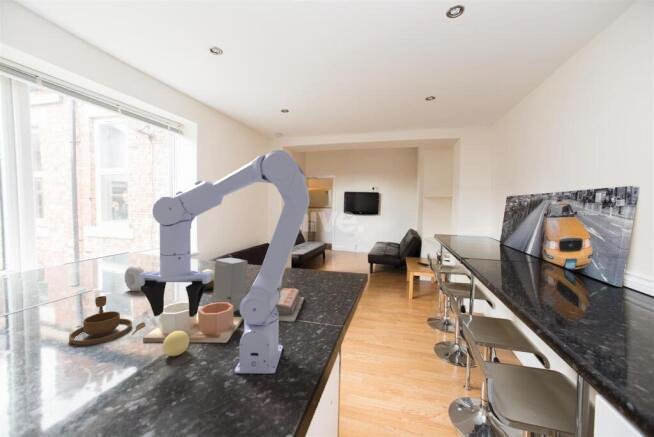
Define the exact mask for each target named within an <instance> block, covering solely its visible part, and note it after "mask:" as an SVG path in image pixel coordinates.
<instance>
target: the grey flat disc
mask: <svg viewBox="0 0 654 437" xmlns="http://www.w3.org/2000/svg"><path fill="white" fill-rule="evenodd" d="M143 272H145V271H144V269H143V268H142V267H141V266H139V265H137V264H134V265H131V266H129V267H127V269H126V270H125V273H124V283H125V285H126V287H127V289H129V290H130V291H132V292H139V291H141V289H140V287H141V286H143V285H144V284H145V283H139V274H141V273H143Z"/></svg>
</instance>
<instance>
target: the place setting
mask: <svg viewBox="0 0 654 437" xmlns="http://www.w3.org/2000/svg"><path fill="white" fill-rule="evenodd" d="M94 300H95V302H94V303H95V306H96V307H97V308H98V313H95V314H93V315H92V314H91V315H90V316H87V317H85V318H84V320H83V321H82V324H83V325H82V324H80V326H81V327H80V328H79V327H78V328H77V329H76V330H74V331H72V332H71V333H70V334H69V336H68V339H69V342H70V343H71V344H73V345H76V346H90V345H96V344H100V343H104V342H108V341H112V340H114V339H116V338H119V337H121V336H123V335H124V334H126V333H128V332H129V331H130V330H131V328H132V325H133V322H132V320H130V319H128V318H121V313H120V312H119V311H112V310H111V311H104V307H105V306H106V305H107V295H101V296H96V297H95V299H94ZM119 325H124V326H126V328H124V329H122V330H120V331H118V332H115V333H113V331H114V330H116V329H117V328H118V327H119ZM145 326H146V323H145V322H144V321H143V322H140V323H138V324H137V325H135V330H134V331H133V332H132V333H131V335H132V336H133V335H135V334H136V333H137V331H138V330H141V329H143V328H144V327H145ZM82 332H84V334H87V335H89V336H92V337H93V338H94V339H87V340H85V339H84V340H83V339H82V340H81V339H76V338H77V337H79V336H80V335H81V334H80V333H82ZM111 333H113V334H111ZM79 334H80V335H79ZM82 334H83V333H82ZM110 334H111V335H110ZM78 335H79V336H78ZM76 336H77V337H76ZM75 337H76V338H75ZM74 339H75V340H74Z"/></svg>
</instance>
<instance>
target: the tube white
mask: <svg viewBox="0 0 654 437" xmlns="http://www.w3.org/2000/svg"><path fill="white" fill-rule="evenodd" d="M158 316H159V322H158V323H159V326H158V327H159V329H160V330H161V332H162V333H164V334H171V333H172V332H175V331H186V330H189V329H191V328H192V327H193V326H194V325H195V324H196V323H197V318H196V316H197V314H196V315H195V316H193V317H190V316H189V301H178V302H174V303H169V304H166V305H164V310H163V313H162V314H160V315H158Z"/></svg>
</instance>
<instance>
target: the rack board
mask: <svg viewBox="0 0 654 437" xmlns="http://www.w3.org/2000/svg"><path fill="white" fill-rule="evenodd" d="M196 318H197V323H196V324H195V325H194V326H193V327H192V328H191V329H189V330H186V331H183V332H185V333H187V335H188V336H189V343H222V344H224V343H225V344H226V343H227V342H229V339H230V338H231V337H232V336H233V334H234V333H235V332H236V330H237V329H238V328H239V326H241V323H242V322H244V319H243V318H242V316H233V325H232V327H231V328H230V329H229V330H227V331H224V332H221V333H218V334H202V333H201V332H200V331H199V330H198V315H196ZM168 335H169V334H164V333H162V332H161V330H160V329H159V326H157V327H155V328H154V329H153V330H151V331H150V332H149V333H147V334H146V335H145V336H143V337H142V342H143V343H146V342H149V343H150V342H151V343H157V342H158V343H164V340H165V338H166V337H167V336H168Z"/></svg>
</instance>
